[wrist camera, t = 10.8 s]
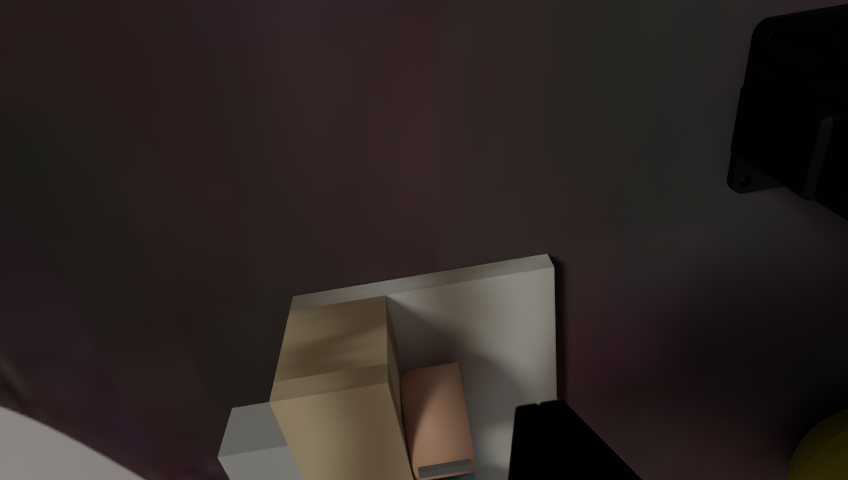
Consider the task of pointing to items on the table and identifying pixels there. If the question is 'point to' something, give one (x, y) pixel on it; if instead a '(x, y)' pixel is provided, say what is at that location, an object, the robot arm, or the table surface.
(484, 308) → the mount
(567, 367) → the table surface
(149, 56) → the table surface
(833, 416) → the lemon
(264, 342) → the table surface
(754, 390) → the table surface
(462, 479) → the teal knob
